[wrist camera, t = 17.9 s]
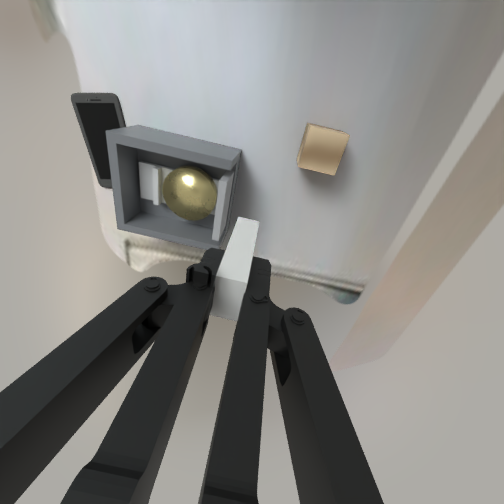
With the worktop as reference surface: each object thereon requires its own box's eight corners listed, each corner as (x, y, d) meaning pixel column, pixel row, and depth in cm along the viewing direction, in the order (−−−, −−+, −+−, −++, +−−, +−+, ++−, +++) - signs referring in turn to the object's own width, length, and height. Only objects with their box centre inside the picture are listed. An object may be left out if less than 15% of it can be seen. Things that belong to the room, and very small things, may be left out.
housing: (138, 124, 36) (105, 130, 30) (241, 149, 37) (231, 160, 30) (142, 209, 44) (117, 229, 37) (228, 229, 44) (218, 252, 38)
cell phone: (102, 186, 43) (100, 187, 42) (71, 92, 35) (68, 92, 35) (142, 188, 42) (140, 189, 42) (119, 93, 35) (116, 92, 34)
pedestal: (307, 122, 34) (310, 126, 30) (341, 131, 34) (349, 135, 30) (296, 159, 36) (298, 166, 32) (328, 166, 37) (334, 175, 32)
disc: (221, 172, 35) (218, 175, 34) (214, 221, 39) (212, 225, 38) (166, 159, 35) (162, 161, 33) (166, 209, 39) (162, 213, 38)
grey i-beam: (140, 148, 35) (119, 156, 30) (234, 171, 35) (227, 181, 31) (143, 205, 40) (125, 219, 35) (225, 225, 40) (218, 241, 36)
